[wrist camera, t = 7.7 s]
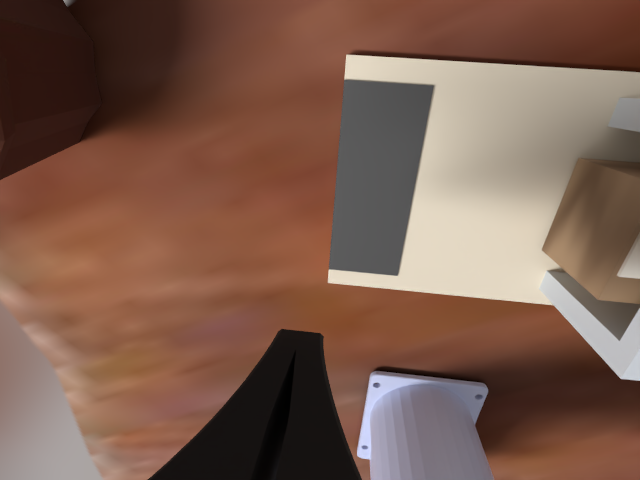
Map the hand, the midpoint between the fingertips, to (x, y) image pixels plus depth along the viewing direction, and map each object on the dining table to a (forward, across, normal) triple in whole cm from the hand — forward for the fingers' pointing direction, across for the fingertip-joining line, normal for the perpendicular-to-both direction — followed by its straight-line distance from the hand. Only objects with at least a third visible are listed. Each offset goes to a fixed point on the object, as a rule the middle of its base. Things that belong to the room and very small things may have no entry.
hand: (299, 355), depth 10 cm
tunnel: (+9, -15, -3) cm, 18 cm away
